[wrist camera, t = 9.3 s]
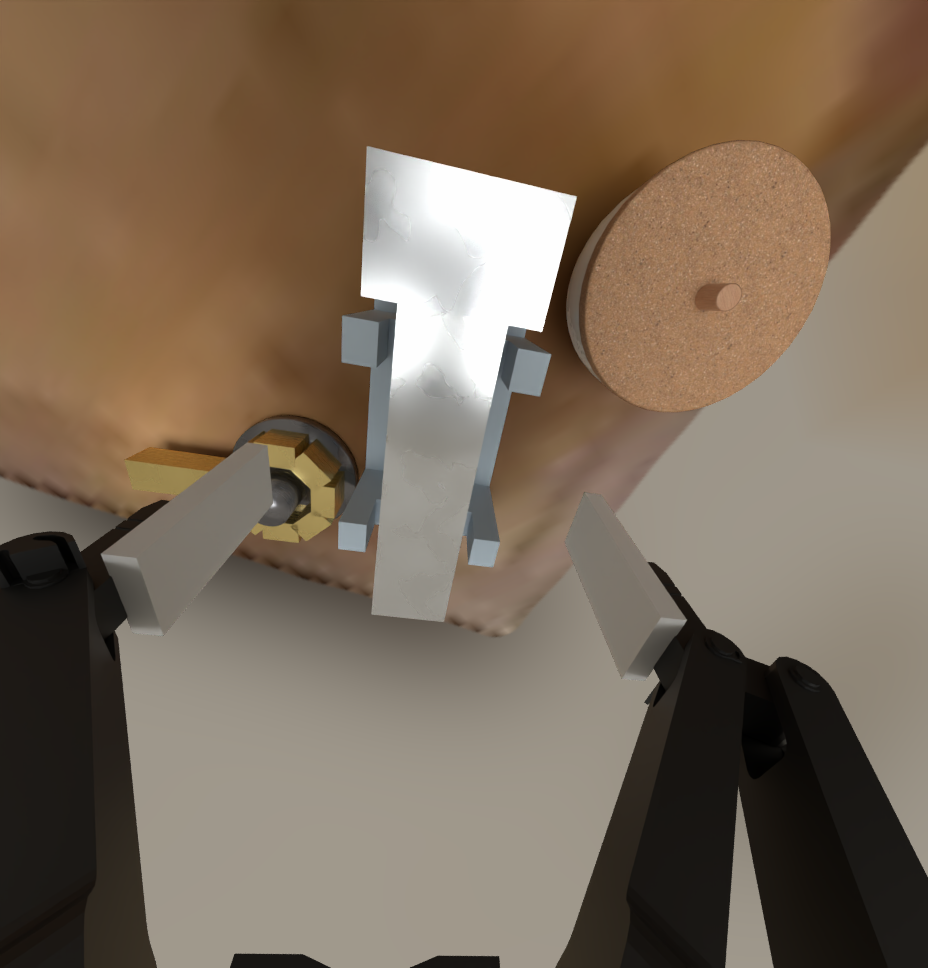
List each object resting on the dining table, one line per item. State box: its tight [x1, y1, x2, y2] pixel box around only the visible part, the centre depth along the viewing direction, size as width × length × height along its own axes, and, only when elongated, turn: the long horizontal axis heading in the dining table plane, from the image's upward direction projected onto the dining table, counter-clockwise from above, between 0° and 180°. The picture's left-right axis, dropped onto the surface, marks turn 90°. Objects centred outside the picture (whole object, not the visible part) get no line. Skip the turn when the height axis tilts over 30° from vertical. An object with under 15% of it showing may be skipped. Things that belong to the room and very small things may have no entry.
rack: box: [338, 299, 551, 567], centre depth 23 cm, size 15×10×8 cm, turn 170°
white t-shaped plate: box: [361, 146, 577, 622], centre depth 19 cm, size 21×7×5 cm, turn 170°
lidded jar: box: [566, 140, 831, 412], centre depth 19 cm, size 11×11×9 cm
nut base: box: [232, 415, 358, 527], centre depth 26 cm, size 9×9×6 cm
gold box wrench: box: [124, 429, 345, 543], centre depth 25 cm, size 13×8×3 cm, turn 80°
